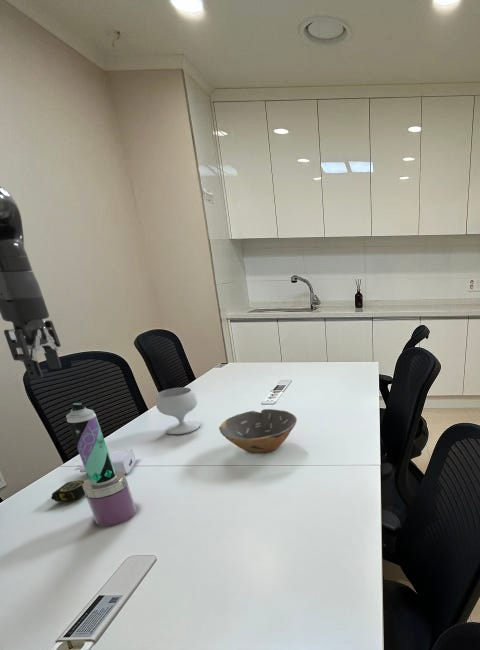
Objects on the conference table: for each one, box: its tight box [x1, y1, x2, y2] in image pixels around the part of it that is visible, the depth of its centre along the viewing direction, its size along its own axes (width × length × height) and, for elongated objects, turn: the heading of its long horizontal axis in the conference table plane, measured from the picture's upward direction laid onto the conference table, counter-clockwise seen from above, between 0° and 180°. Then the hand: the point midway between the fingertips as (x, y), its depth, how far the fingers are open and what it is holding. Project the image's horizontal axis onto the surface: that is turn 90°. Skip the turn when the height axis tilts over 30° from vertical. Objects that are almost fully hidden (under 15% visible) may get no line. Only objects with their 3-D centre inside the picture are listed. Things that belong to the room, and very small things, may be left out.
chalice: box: [155, 387, 201, 435], centre depth 148 cm, size 14×14×15 cm
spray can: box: [65, 402, 117, 486], centre depth 91 cm, size 6×6×20 cm
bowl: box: [218, 408, 298, 455], centre depth 131 cm, size 25×25×10 cm
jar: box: [84, 482, 137, 527], centre depth 97 cm, size 9×9×10 cm
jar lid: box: [82, 471, 128, 498], centre depth 96 cm, size 9×9×2 cm
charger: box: [74, 449, 137, 475], centre depth 120 cm, size 5×9×15 cm
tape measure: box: [50, 479, 85, 502], centre depth 107 cm, size 7×7×4 cm
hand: (46, 373), depth 85 cm, fingers open, 8 cm apart
